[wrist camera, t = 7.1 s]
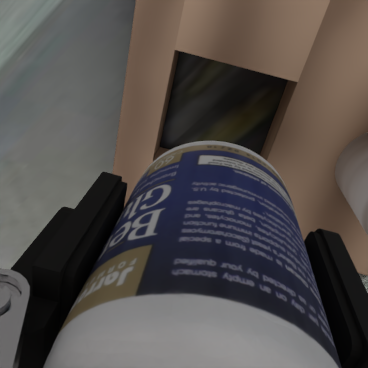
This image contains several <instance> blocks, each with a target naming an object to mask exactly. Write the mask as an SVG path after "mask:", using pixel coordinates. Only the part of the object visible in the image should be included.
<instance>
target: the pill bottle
mask: <svg viewBox="0 0 368 368" xmlns="http://www.w3.org/2000/svg"><path fill="white" fill-rule="evenodd" d="M43 368H342V367H341V364H340V361H339V357H338V354H337V351H336V347H335V344H334V341H333V338H332V334H331V331H330V327H329V324H328V321H327V317H326V314H325V311H324V308H323V305H322V301H321V298H320V294H319V291H318V288H317V284H316V281H315V277H314V274H313V271H312V268H311V264H310V260H309V257H308V254H307V251H306V247H305V244H304V241H303V237H302V234H301V231H300V227H299V224H298V221H297V217H296V214H295V210H294V207H293V204H292V200H291V198H290V195H289V193H288V190H287V188H286V186H285V184H284V182H283V180H282V178H281V177H280V175H279V174H278V172H277V171H276V170H275V169H274V167H273V166H272V165H271V164H270V163H268V162H267V161H266V160H265V159H264V158H262V157H261V156H260V155H258V154H256V153H255V152H253V151H251V150H249V149H247V148H245V147H242V146H239V145H236V144H232V143H228V142H221V141H198V142H192V143H187V144H183V145H180V146H177V147H175V148H173V149H171V150H169V151H167V152H165V153H164V154H162V155H161V156H159V157H158V158H157V159H156V160H155V161H154V162H153V163H152V164H151V165H150V166H149V167H148V168H147V169H146V171H145V172H144V173H143V175H142V176H141V177H140V179H139V181H138V182H137V184H136V186H135V188H134V190H133V192H132V193H131V195H130V197H129V199H128V201H127V203H126V205H125V207H124V209H123V211H122V213H121V215H120V217H119V219H118V220H117V222H116V224H115V226H114V228H113V230H112V232H111V234H110V236H109V237H108V239H107V241H106V243H105V246H104V247H103V249H102V251H101V253H100V255H99V257H98V259H97V261H96V263H95V264H94V266H93V268H92V270H91V272H90V274H89V276H88V278H87V280H86V282H85V284H84V286H83V287H82V289H81V291H80V293H79V295H78V297H77V299H76V301H75V303H74V305H73V306H72V308H71V310H70V312H69V314H68V316H67V318H66V320H65V322H64V324H63V326H62V328H61V330H60V332H59V334H58V336H57V337H56V339H55V342H54V344H53V346H52V349H51V351H50V353H49V355H48V357H47V360H46V362H45V364H44V367H43Z"/></svg>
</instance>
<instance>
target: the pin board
mask: <svg viewBox="0 0 368 368" xmlns="http://www.w3.org/2000/svg"><path fill="white" fill-rule="evenodd" d="M179 51H182V52H185V53H189V54H193V55H197V56H200V57H204V58H208V59H212V60H216V61H219V62H223V63H227V64H231V65H234V66H238V67H242V68H246V69H249V70H253V71H257V72H261V73H265V74H268V75H272V76H276V77H280V78H283V79H287V80H288V82H287V85H286V87H285V90H284V93H283V95H282V98H281V100H280V103H279V106H278V108H277V111H276V114H275V116H274V119H273V122H272V124H271V127H270V129H269V132H268V135H267V137H266V140H265V143H264V145H263V148H262V150H261V153H260V156H261V157H262V158H264V159H265V160H266V161H267V162H268V163H270V164H271V165H272V166H273V167H274V169H275V170H276V171H277V172H278V174H279V175H280V177H281V178H282V180H283V182H284V184H285V186H286V188H287V190H288V193H289V195H290V198H291V200H292V204H293V207H294V210H295V214H296V217H297V221H298V224H299V227H300V231H301V234H302V237H303V241H304V240H305V239H306V237H307V235H308V233H309V232H311V231H313V232H315V231H316V230H317V229H319V228H320V229H324V230H328V231H332V232H335V233H338V234H339V235H340V236H341V238H342V240H343V242H344V244H345V246H346V249H347V251H348V253H349V255H350V257H351V259H352V261H353V263H354V266H355V268H356V270H357V272H358V273H360V274H364V275H368V0H136V4H135V11H134V19H133V26H132V33H131V41H130V48H129V55H128V63H127V70H126V77H125V85H124V92H123V99H122V107H121V114H120V121H119V129H118V136H117V143H116V151H115V158H114V165H113V173H112V174H114V175H118V176H122V182H126V183H127V191H126V197H125V203H124V207H125V205H126V203H127V201H128V199H129V197H130V195H131V193H132V192H133V190H134V188H135V186H136V184H137V182H138V181H139V179H140V177H141V176H142V175H143V173H144V172H145V171H146V169H147V168H148V167H149V166H150V165H151V164H152V163H153V162H154V161H155V160H156V159H157V158H158V157H159V156H161V155H162V154H164V153H165V152H167V151H169V150H170V149H166V148H162V147H160V142H161V137H162V133H163V128H164V123H165V118H166V113H167V109H168V104H169V99H170V94H171V89H172V85H173V80H174V75H175V70H176V65H177V61H178V56H179Z"/></svg>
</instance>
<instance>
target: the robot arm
mask: <svg viewBox="0 0 368 368" xmlns="http://www.w3.org/2000/svg"><path fill="white" fill-rule="evenodd" d="M126 191H127V183H126V182H122V176H118V175H114V174H111V173H107V172H102V173H101V175H100V176H99V177H98V179H97V180H96V181H95V183H94V184H93V185H92V187H91V188H90V189H89V191H88V192H87V193H86V195H85V196H84V197H83V199H82V200H81V201H80V202H79V204H78V205H77V206H76V208H75V209H71V208H68V207H62V208H61V209H60V210H59V211H58V212H57V213H56V215H55V216H54V217H53V218H52V219H51V221H50V222H49V223H48V224H47V226H46V227H45V228H44V229H43V230H42V232H41V233H40V234H39V235H38V236H37V238H36V239H35V240H34V241H33V243H32V244H31V245H30V246H29V247H28V249H27V250H26V251H25V252H24V253H23V255H22V256H21V257H20V258H19V260H18V261H17V262H16V263H15V264H14V266H13V267H12V268H11V269H2V268H0V368H43V367H44V364H45V362H46V360H47V357H48V355H49V353H50V351H51V349H52V346H53V344H54V342H55V339H56V337H57V336H58V334H59V332H60V330H61V328H62V326H63V324H64V322H65V320H66V318H67V316H68V314H69V312H70V310H71V308H72V306H73V305H74V303H75V301H76V299H77V297H78V295H79V293H80V291H81V289H82V287H83V286H84V284H85V282H86V280H87V278H88V276H89V274H90V272H91V270H92V268H93V266H94V264H95V263H96V261H97V259H98V257H99V255H100V253H101V251H102V249H103V247H104V246H105V243H106V241H107V239H108V237H109V236H110V234H111V232H112V230H113V228H114V226H115V224H116V222H117V220H118V219H119V217H120V215H121V213H122V211H123V209H124V203H125V197H126ZM304 244H305V247H306V251H307V254H308V257H309V260H310V264H311V268H312V271H313V274H314V277H315V281H316V284H317V288H318V291H319V294H320V298H321V301H322V305H323V308H324V311H325V314H326V317H327V321H328V324H329V327H330V331H331V334H332V338H333V341H334V344H335V347H336V351H337V354H338V357H339V361H340V364H341V367H342V368H368V293H367V291H366V289H365V287H364V285H363V283H362V280H361V278H360V276H359V274H358V272H357V270H356V268H355V266H354V263H353V261H352V259H351V257H350V255H349V253H348V251H347V249H346V246H345V244H344V242H343V240H342V238H341V236H340V235H339V234H338V233H335V232H332V231H328V230H324V229H320V228H319V229H317V230H316V231H315V232H313V231H311V232H309V233H308V235H307V237H306V239H305V240H304Z"/></svg>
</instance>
